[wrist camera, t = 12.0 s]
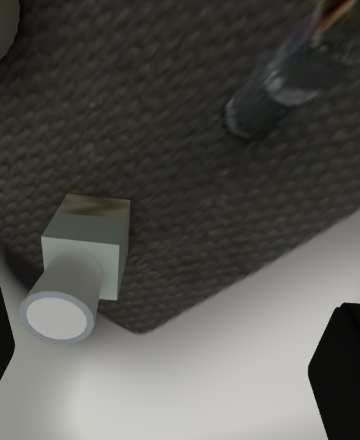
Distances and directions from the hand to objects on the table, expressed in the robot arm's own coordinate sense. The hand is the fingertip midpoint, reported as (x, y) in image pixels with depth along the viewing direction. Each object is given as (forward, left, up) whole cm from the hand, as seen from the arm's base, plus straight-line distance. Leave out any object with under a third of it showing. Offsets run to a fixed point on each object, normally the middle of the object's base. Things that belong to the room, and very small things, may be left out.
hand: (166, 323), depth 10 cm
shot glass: (+9, +18, -22) cm, 30 cm away
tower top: (+9, +18, -27) cm, 34 cm away
